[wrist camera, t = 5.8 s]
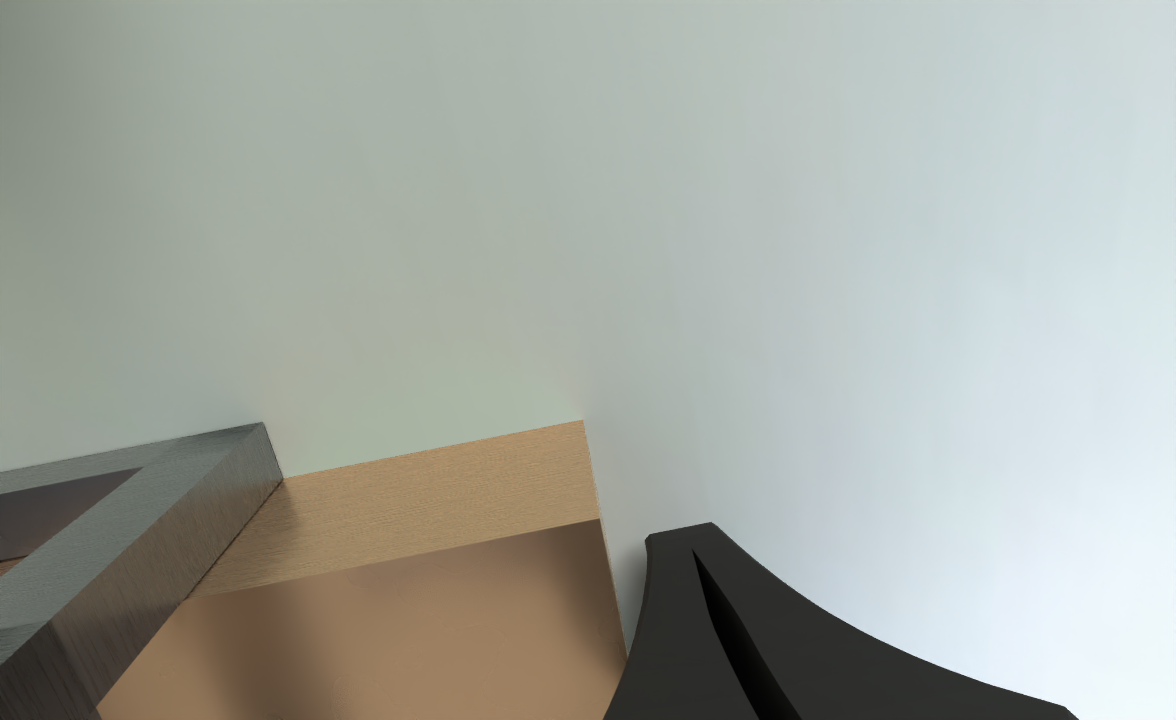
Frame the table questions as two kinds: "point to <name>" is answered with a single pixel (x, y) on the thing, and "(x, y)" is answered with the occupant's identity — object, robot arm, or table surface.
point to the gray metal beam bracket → (113, 558)
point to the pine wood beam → (401, 597)
